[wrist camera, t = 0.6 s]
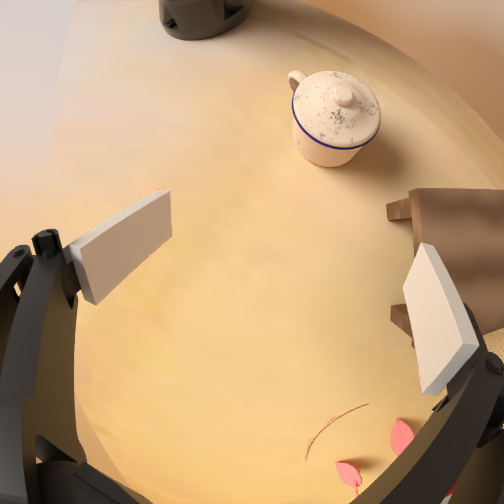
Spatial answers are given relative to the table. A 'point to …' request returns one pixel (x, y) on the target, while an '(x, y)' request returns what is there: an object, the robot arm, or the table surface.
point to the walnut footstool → (460, 246)
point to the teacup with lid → (332, 116)
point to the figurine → (399, 442)
